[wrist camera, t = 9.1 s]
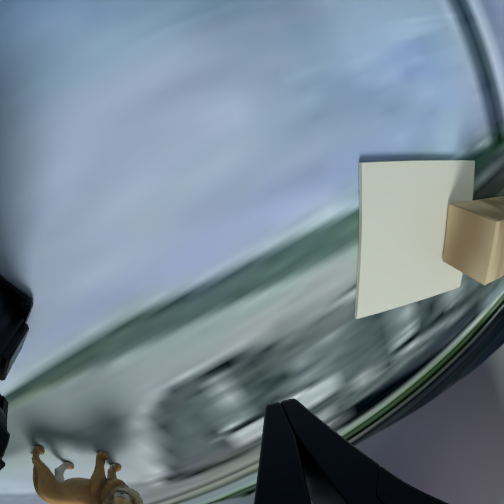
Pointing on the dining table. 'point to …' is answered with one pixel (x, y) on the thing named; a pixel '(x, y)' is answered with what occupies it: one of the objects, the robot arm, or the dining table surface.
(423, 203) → the stone tile
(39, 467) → the lion figurine
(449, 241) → the beech block
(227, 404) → the dining table surface
